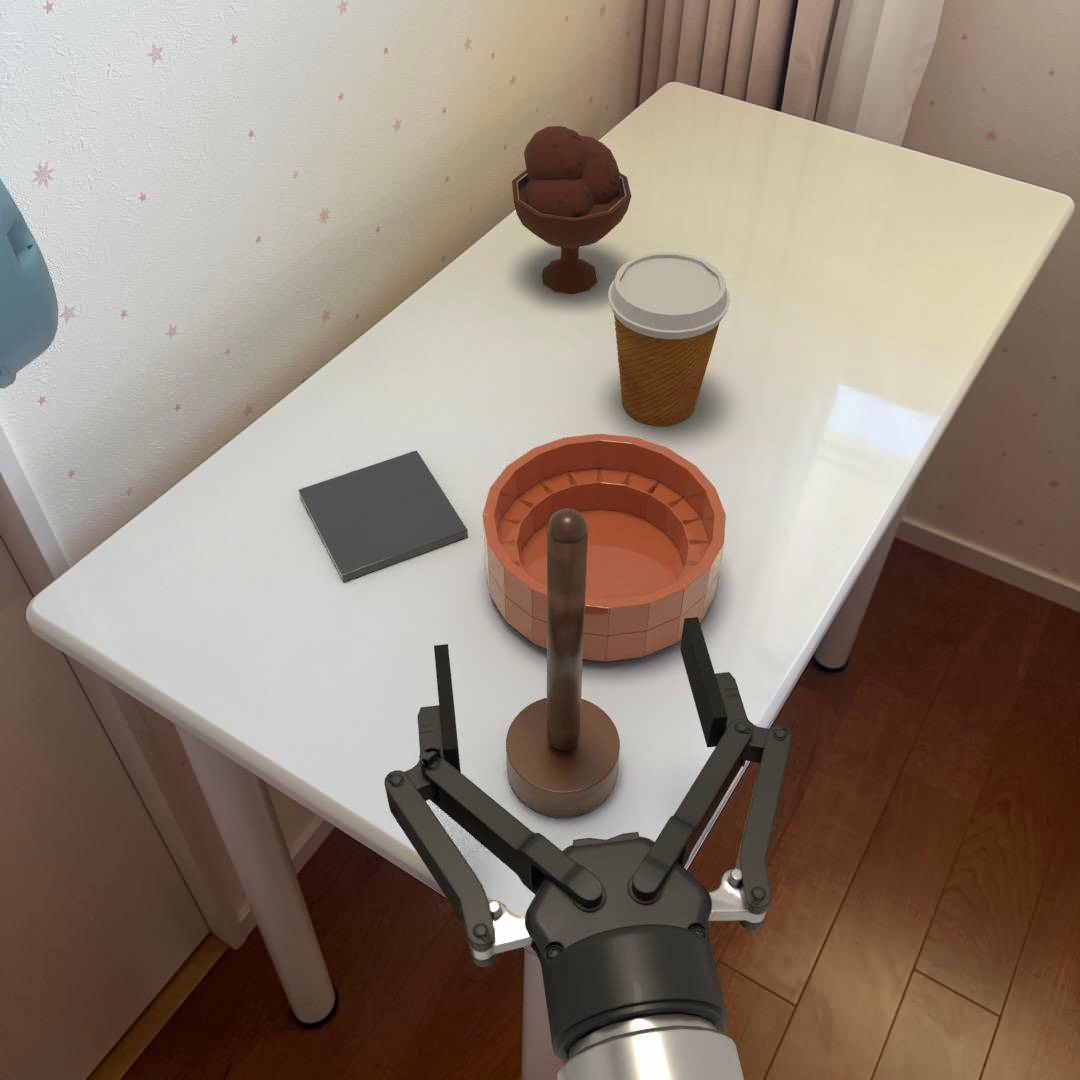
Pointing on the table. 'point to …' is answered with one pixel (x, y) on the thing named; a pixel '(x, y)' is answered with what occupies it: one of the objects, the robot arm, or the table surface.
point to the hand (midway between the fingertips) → (566, 645)
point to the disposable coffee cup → (665, 332)
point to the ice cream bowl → (569, 200)
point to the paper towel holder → (563, 697)
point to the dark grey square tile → (381, 515)
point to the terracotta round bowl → (607, 540)
